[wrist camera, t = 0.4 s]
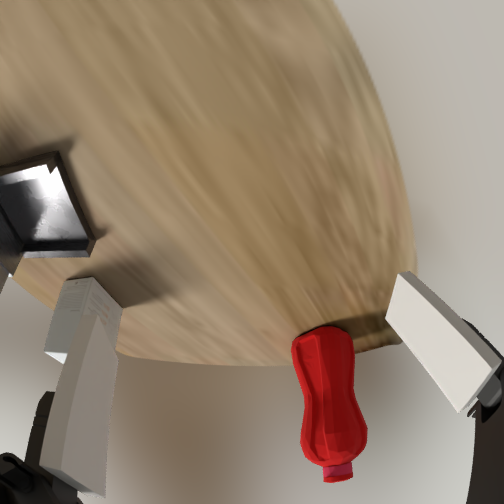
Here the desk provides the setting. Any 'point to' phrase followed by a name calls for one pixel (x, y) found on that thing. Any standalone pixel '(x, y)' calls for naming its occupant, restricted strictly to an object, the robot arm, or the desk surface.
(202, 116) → the desk surface
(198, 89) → the desk surface
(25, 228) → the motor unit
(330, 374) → the water bottle
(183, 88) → the desk surface
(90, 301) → the small box
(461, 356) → the robot arm
